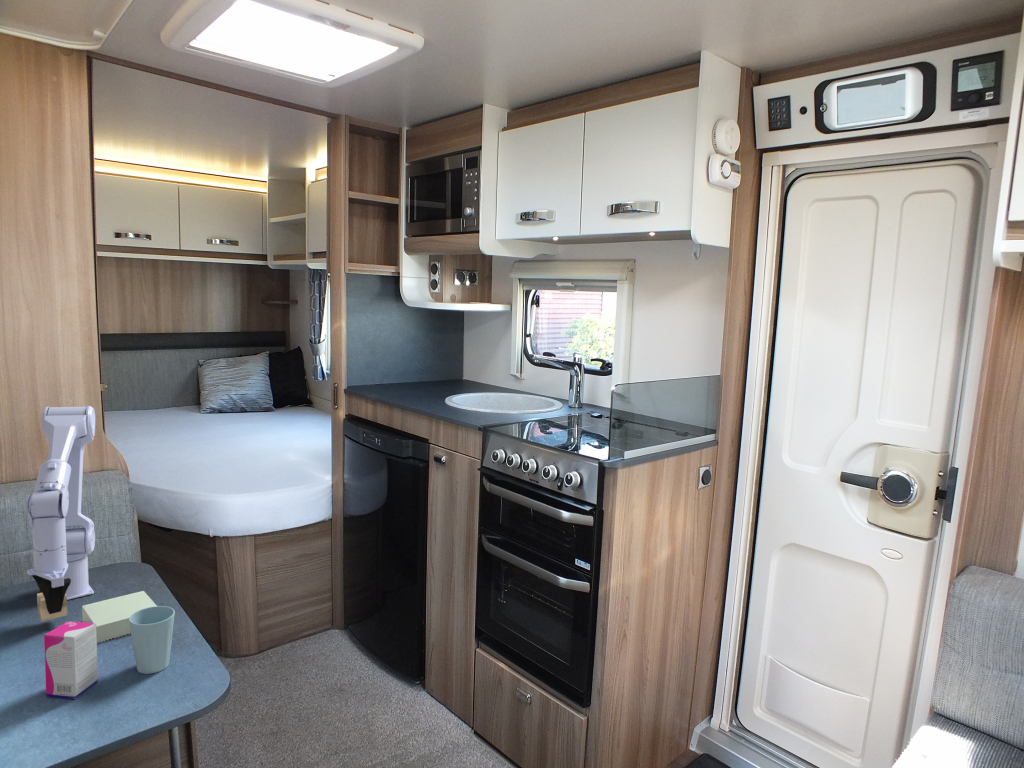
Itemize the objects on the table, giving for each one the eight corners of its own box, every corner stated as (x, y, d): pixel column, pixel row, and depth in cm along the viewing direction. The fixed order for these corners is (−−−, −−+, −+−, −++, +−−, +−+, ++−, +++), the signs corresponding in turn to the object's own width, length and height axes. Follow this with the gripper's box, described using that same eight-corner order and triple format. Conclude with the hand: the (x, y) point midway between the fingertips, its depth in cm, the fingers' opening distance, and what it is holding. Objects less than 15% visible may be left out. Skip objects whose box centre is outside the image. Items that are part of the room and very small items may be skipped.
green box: (82, 623, 143) (82, 605, 143) (143, 607, 151) (143, 590, 151) (96, 645, 135) (96, 626, 134) (160, 627, 143) (160, 609, 142)
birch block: (37, 613, 141) (36, 593, 140) (63, 607, 144) (62, 587, 143) (41, 621, 138) (41, 601, 137) (67, 615, 141) (66, 595, 140)
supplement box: (99, 681, 122) (97, 622, 120) (75, 700, 116) (72, 638, 114) (70, 678, 122) (67, 619, 121) (44, 697, 116) (41, 635, 115)
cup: (158, 679, 123) (157, 626, 122) (120, 675, 124) (119, 622, 123) (183, 658, 131) (183, 608, 129) (147, 654, 132) (146, 604, 130)
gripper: (20, 540, 141) (23, 600, 143) (32, 561, 131) (35, 626, 133) (59, 533, 146) (62, 592, 148) (74, 553, 136) (77, 616, 138)
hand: (52, 607), depth 141 cm, fingers closed on birch block, 4 cm apart
